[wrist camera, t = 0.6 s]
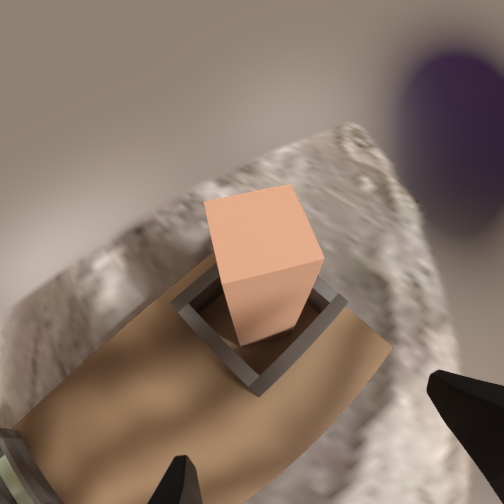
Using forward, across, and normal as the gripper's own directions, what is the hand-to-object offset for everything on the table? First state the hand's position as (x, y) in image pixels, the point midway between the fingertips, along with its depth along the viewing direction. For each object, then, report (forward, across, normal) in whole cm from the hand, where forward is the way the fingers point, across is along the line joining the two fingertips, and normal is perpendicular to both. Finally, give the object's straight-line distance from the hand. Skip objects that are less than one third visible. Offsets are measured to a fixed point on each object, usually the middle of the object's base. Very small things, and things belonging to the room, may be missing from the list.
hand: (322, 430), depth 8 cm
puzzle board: (+9, +13, +10) cm, 18 cm away
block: (+14, 0, +2) cm, 14 cm away
